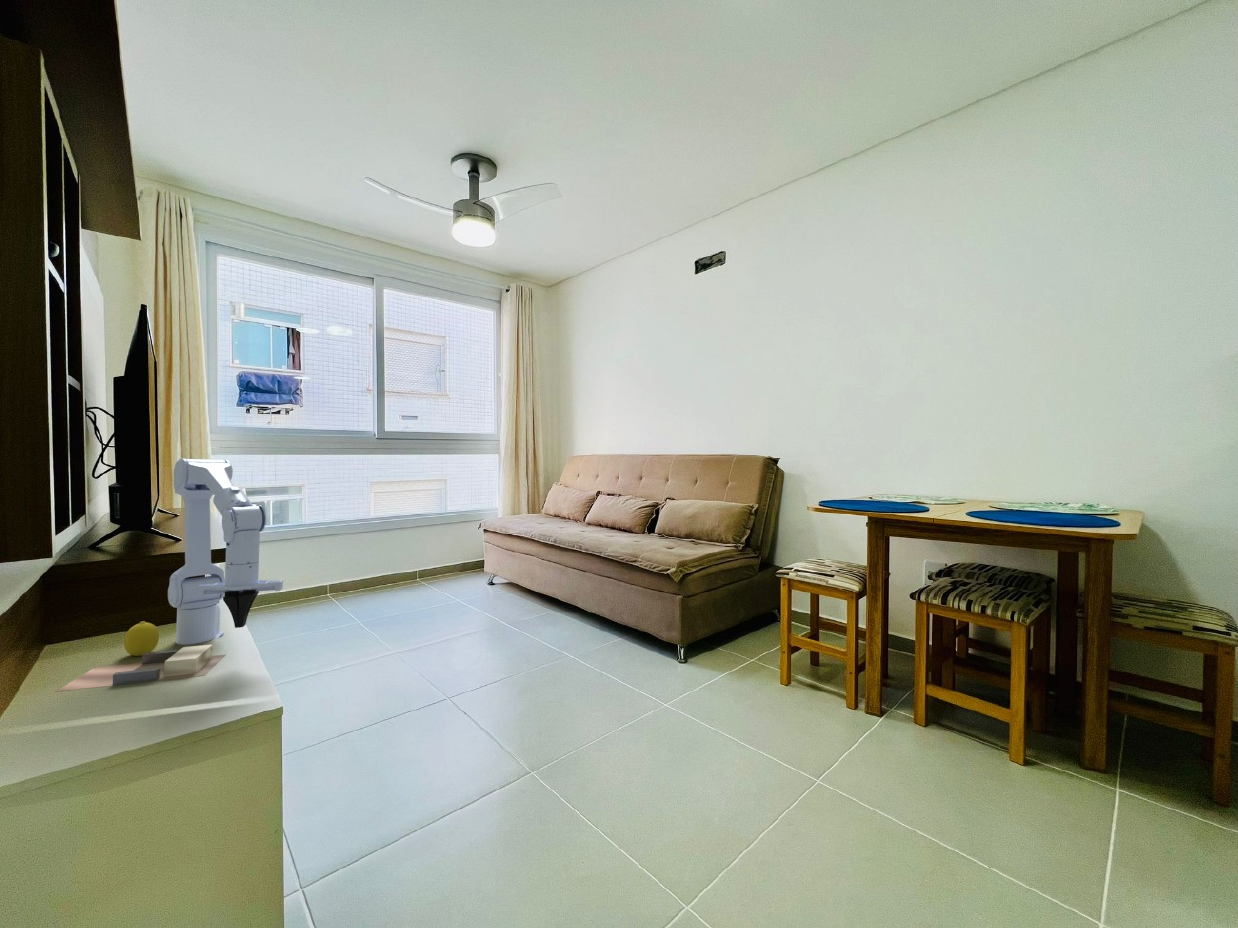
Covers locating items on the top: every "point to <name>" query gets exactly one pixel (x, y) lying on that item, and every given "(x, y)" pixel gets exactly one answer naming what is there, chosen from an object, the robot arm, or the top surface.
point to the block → (188, 660)
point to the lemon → (141, 639)
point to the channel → (145, 674)
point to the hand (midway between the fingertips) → (240, 626)
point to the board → (105, 673)
